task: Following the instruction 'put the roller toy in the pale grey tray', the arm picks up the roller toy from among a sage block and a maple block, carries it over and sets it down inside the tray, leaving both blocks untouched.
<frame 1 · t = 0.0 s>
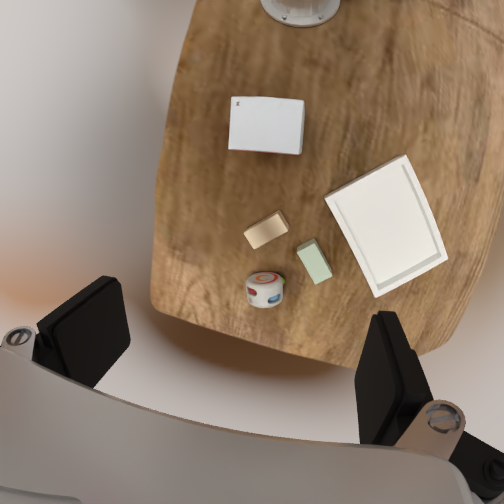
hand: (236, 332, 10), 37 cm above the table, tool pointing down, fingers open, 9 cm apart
roller toy: (267, 281, 51), on the table
tray: (388, 226, 44), on the table
maple block: (268, 226, 48), on the table
small box: (277, 131, 43), on the table
sage block: (314, 257, 48), on the table
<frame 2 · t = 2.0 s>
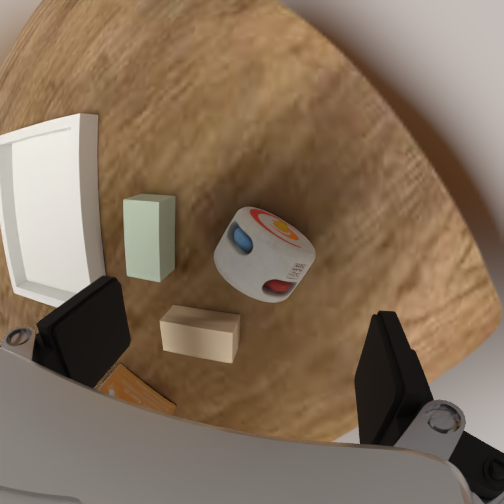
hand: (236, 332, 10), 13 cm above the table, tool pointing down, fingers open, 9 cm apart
roller toy: (270, 240, 22), on the table
tray: (50, 214, 25), on the table
maple block: (206, 323, 26), on the table
small box: (139, 393, 31), on the table
sage block: (159, 230, 24), on the table
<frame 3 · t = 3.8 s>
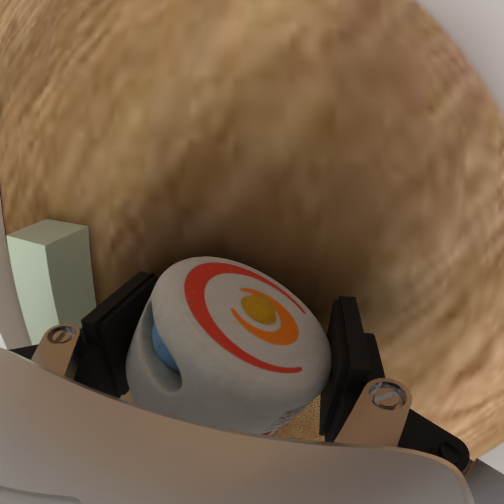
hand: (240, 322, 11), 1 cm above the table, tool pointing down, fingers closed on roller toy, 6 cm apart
roller toy: (246, 307, 12), on the table, touching gripper
sage block: (74, 278, 13), on the table
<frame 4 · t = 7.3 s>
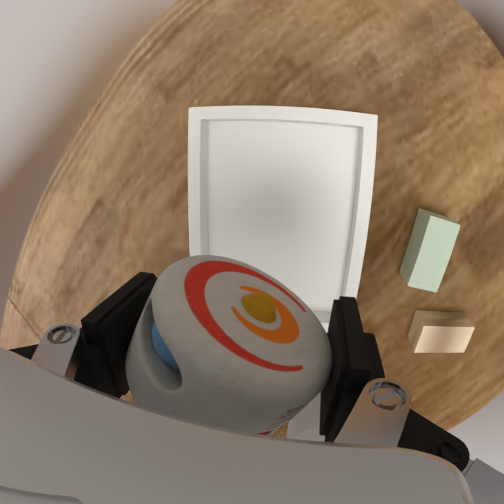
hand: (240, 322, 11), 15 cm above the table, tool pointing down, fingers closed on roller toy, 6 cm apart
roller toy: (246, 306, 12), point 14 cm above the table, touching gripper
tray: (279, 218, 25), on the table
maple block: (436, 323, 26), on the table
small box: (333, 402, 31), on the table
sage block: (422, 244, 23), on the table
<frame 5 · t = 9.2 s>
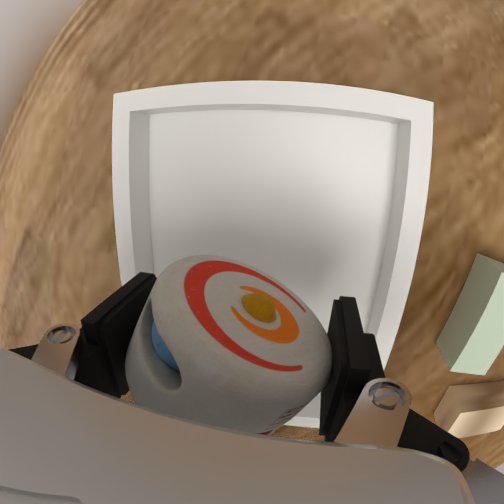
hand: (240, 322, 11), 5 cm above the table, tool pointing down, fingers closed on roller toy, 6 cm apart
roller toy: (246, 306, 12), point 4 cm above the table, touching gripper
tray: (262, 270, 16), on the table
maple block: (470, 396, 16), on the table
sage block: (473, 303, 14), on the table
when the fingers open (3 cm above the table, at t = 10.6 s): roller toy drops 1 cm, resting on tray.
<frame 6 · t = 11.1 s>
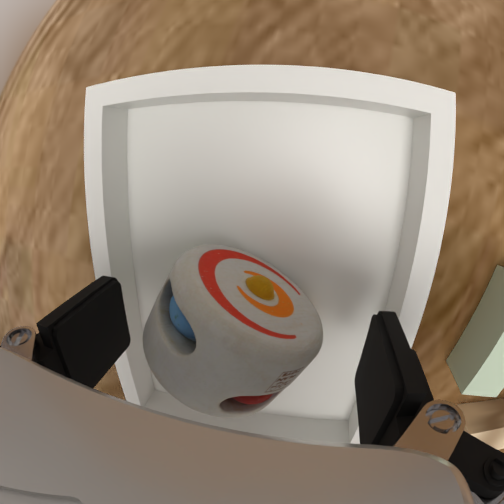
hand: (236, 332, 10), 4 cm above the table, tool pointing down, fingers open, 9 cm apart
roller toy: (248, 292, 14), resting on tray
tray: (255, 286, 14), on the table
maple block: (479, 412, 14), on the table
sage block: (488, 319, 12), on the table
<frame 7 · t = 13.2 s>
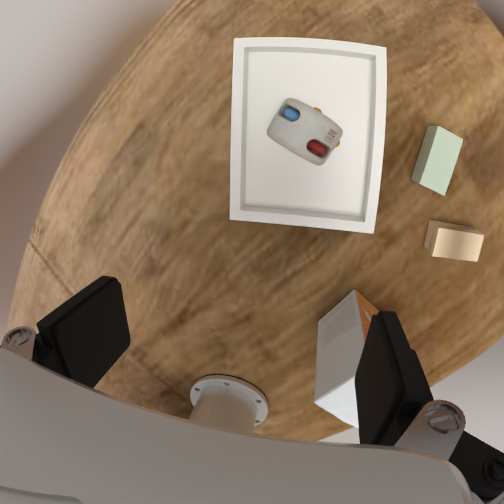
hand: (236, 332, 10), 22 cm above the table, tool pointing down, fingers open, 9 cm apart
roller toy: (305, 131, 27), resting on tray
tray: (308, 130, 27), on the table
maple block: (448, 235, 28), on the table
small box: (358, 322, 34), on the table
sage block: (431, 158, 26), on the table
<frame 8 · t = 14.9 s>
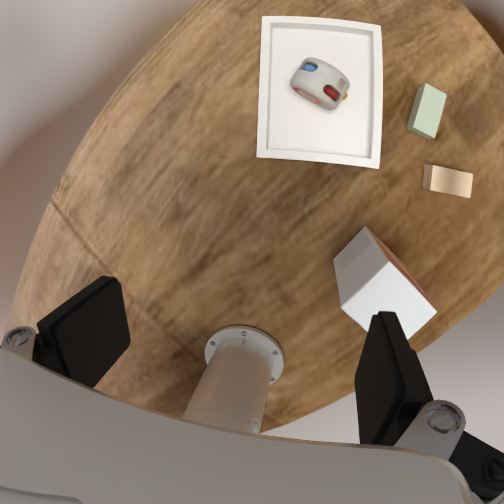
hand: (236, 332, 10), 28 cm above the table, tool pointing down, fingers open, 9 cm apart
roller toy: (319, 89, 31), resting on tray
tray: (321, 89, 31), on the table
maple block: (442, 179, 32), on the table
small box: (369, 260, 37), on the table
sage block: (422, 112, 30), on the table
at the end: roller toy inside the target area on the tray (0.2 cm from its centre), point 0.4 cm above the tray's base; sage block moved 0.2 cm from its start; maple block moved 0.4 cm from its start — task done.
